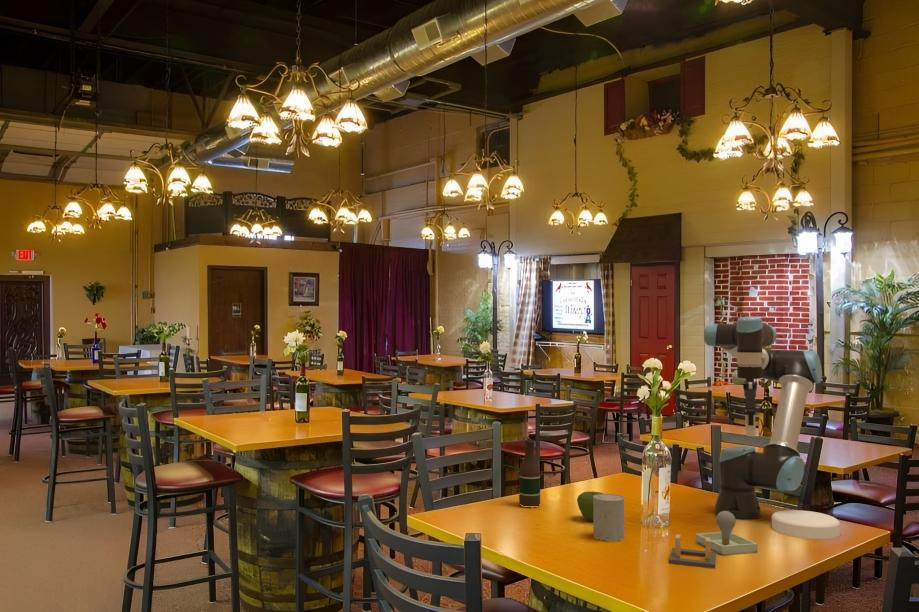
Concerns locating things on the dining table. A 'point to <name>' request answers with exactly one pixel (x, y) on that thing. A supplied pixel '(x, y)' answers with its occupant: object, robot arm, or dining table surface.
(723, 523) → the light bulb
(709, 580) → the dining table surface
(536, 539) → the dining table surface
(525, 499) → the beer bottle
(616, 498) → the gray cylinder
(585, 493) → the apple
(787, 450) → the robot arm
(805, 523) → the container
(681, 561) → the frame
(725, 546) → the parts tray
